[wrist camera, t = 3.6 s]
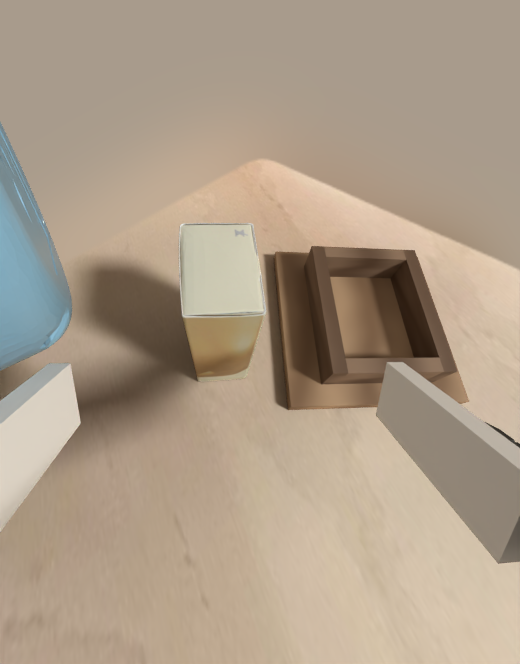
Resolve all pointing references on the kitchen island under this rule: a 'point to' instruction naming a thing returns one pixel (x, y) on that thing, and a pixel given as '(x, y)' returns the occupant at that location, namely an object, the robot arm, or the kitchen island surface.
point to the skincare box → (220, 297)
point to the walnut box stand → (357, 326)
